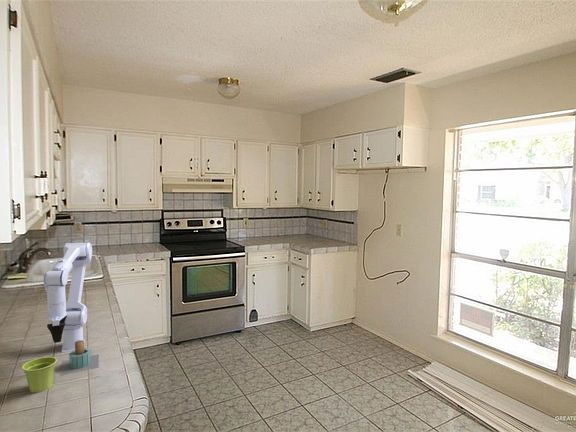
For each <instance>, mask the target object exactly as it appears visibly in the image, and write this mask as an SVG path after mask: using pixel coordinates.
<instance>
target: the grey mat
mask: <svg viewBox="0 0 576 432" xmlns="http://www.w3.org/2000/svg"><path fill="white" fill-rule="evenodd" d="M99 361H100V360H99V354H94V355H91V364H89V365H88V366H86V367H84V368H79V369H72V368H70V362H69V359H68V360H63V361H62V363H61V369H60V376H64V375H70V374H76V373H79V372H80V373H81V372H84V371H89V370H95V369H99V368H100V364H99V363H100V362H99Z"/></svg>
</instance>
